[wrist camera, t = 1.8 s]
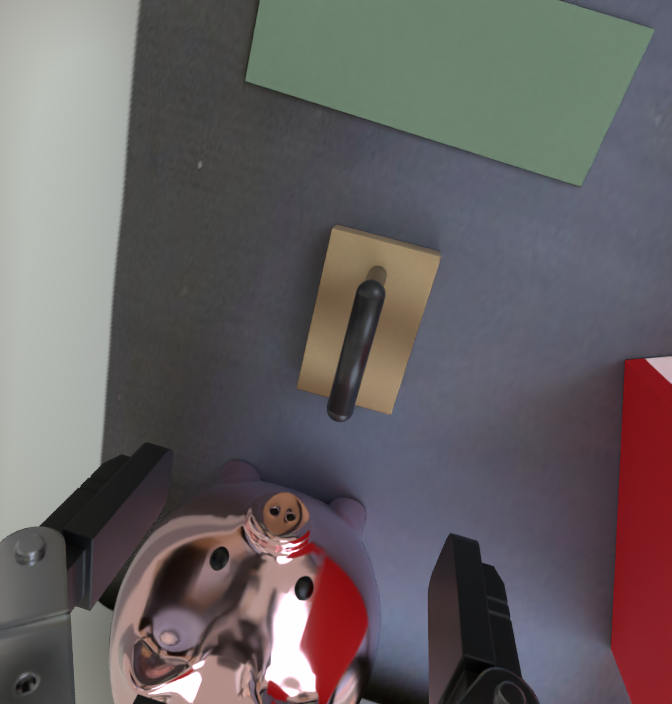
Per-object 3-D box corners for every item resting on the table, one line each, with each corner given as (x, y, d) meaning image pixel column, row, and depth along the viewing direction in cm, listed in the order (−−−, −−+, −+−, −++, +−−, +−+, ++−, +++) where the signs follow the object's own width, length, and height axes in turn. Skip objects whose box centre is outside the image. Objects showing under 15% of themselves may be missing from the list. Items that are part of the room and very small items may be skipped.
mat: (246, 81, 26) (244, 80, 26) (276, -84, 23) (275, -86, 23) (580, 186, 25) (581, 186, 25) (653, 30, 22) (655, 29, 22)
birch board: (392, 404, 32) (385, 459, 26) (301, 378, 32) (275, 427, 26) (440, 251, 27) (445, 277, 22) (336, 224, 28) (314, 242, 22)
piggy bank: (424, 466, 33) (427, 719, 18) (346, 639, 40) (303, 919, 26) (206, 392, 33) (39, 580, 19) (168, 576, 41) (27, 815, 26)
